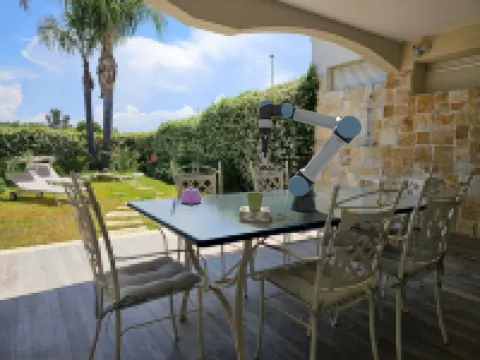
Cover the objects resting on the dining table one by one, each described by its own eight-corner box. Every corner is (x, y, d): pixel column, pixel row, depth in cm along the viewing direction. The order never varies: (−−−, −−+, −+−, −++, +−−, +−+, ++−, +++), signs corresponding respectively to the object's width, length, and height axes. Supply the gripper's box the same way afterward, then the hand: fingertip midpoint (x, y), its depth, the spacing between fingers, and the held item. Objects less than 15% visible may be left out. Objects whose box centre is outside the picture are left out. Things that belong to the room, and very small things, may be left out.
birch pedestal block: (268, 215, 204) (268, 206, 203) (270, 221, 188) (270, 211, 187) (239, 214, 204) (240, 206, 204) (239, 220, 188) (239, 211, 188)
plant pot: (262, 212, 187) (262, 195, 186) (244, 211, 189) (244, 194, 188) (264, 208, 196) (265, 193, 195) (247, 208, 198) (248, 192, 197)
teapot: (200, 200, 257) (200, 185, 255) (202, 204, 237) (202, 188, 236) (180, 200, 254) (180, 185, 253) (181, 205, 234) (180, 188, 233)
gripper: (258, 128, 226) (257, 161, 228) (259, 126, 202) (258, 164, 204) (270, 128, 226) (269, 162, 228) (272, 126, 201) (272, 164, 204)
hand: (264, 163), depth 216 cm, fingers open, 13 cm apart
